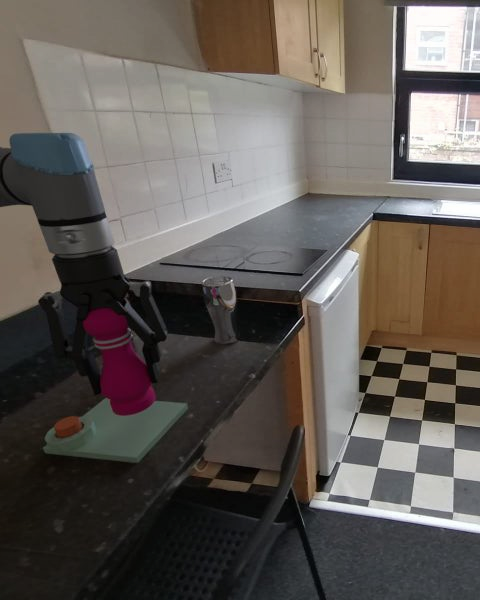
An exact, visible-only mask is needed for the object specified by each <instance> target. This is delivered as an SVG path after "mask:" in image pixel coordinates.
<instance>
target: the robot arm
mask: <svg viewBox="0 0 480 600" xmlns="http://www.w3.org/2000/svg"><path fill="white" fill-rule="evenodd" d="M8 142H9V146H10V147H1V146H0V208H4V207H10V206H30V207H32V210H33V213H34V214H35V217H36V219H37V223H38V225H39V228H40V231H41V233H42V236H43V239H44V242H45V244H46V247H47V249H48V252H49V253H50V254H53V257H52V258H51V261H52V264H53V266H54V269H55V272H56V276H57V278H58V280H59V282H60V285H61V286H60V290H57V291H55V292H51V291H46V292H45V293H43V295H42V296H40V298H39V299H38V301H37V302H38V304H39V305H40V307H41V309H42V310H43V312H44V313H45V315H46V320H47V325H48V329H49V334H50V338H51V339H50V340H51V343H52V348H53V349H52V350H53V353H54V357H55V359H58V360H63V359H71V360H73V363H74V364H75V366H76V369H77V372H78V375H79V376H80V377H87V379H88V381H89V383H90V386H91V389H92V391H93V392H92V393H93V394H94V396H98V395H101V394H102V391H101V387H100V378H101V371H100V368H99V366H98V363H97V361H96V358H95V354H94V351H93V350H89V351H86V349H87V342H88V337H89V336H88V335H89V334H88V333H87V332H86V331H85V329H84V326H83V321H84V320H86V319H87V315H88V312H90V311H94V310H97V309H103V308H110V309H112V310H113V311H114V312H115V313H116V314H117V315H124V316H125V318H126V320H127V324H128V325H129V327H128V328H129V329H130V330H131V331H132V332H134V334H135V335H136V336H137V337H138V338H139V339H140V340H141V342H142V343H143V345H142V347H141V351H142V355H143V358H144V361H145V362H144V363H145V364H146V365H147V368H148V372H149V375H150V378H151V382H152V385H153V384H158V382H159V376H160V372H159V369H158V364H157V363H160V361H161V357H162V354H161V350H160V347H159V343H162V342H165V341H166V340H167V338H168V333H169V330H168V328H167V326H166V324H165V321H164V319H163V317H162V314H161V313H160V310H159V308H158V305H157V304H156V301H155V299H154V297H153V294H152V282H151V280H149V279H145V280H143V281H142V282H141V281H130V279H129V278H128V277H127V276H126V275H125V272H124V269H123V266H122V263H121V259H120V257H119V256H120V255H119V253H118V250H117V248H115V247H114V246H113V245H115V239H114V236H113V233H112V232H113V231H112V229H111V226H110V223H109V219H108V216H107V214H106V209H105V205H104V202H103V198H102V194H101V190H100V187H99V184H98V180H97V176H96V173H95V170H94V169H95V167H94V164H93V161H91V159H90V156H89V153H88V150H87V147H86V144H85V142H84V140H83V139H82V138H81V136H79V135H78V134H76V133H73V132H20V133H13V134H11V136H9V141H8ZM129 291H132V292H133V294H134V296H135V297H138V298H139V299H140V303H141V306H142V308H143V310H144V312H145V315H146V317H147V319H148V321H149V323H150V325H151V328H152V329H151V328H150V327H149V325H148V324H147V323H146V322H145V321H144V319H142V318H141V316H140V315H139V314H138V313H137V311H135V309H134V308H133V307H132V305H131V303H130V301H129V300H128V299H127V298H126V296H127V295H128V294H129V293H128V292H129ZM64 300H66V301H67V302H68V303H70V304H72V305H73V306H75V307H76V308H77V310H76V317H75V319H76V321H75V329H74V336H73V342H72V346H70V340H69V336H68V335H69V334H68V330H67V329H68V328H67V324H66V319H65V315H64V309H63V304H64Z"/></svg>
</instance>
